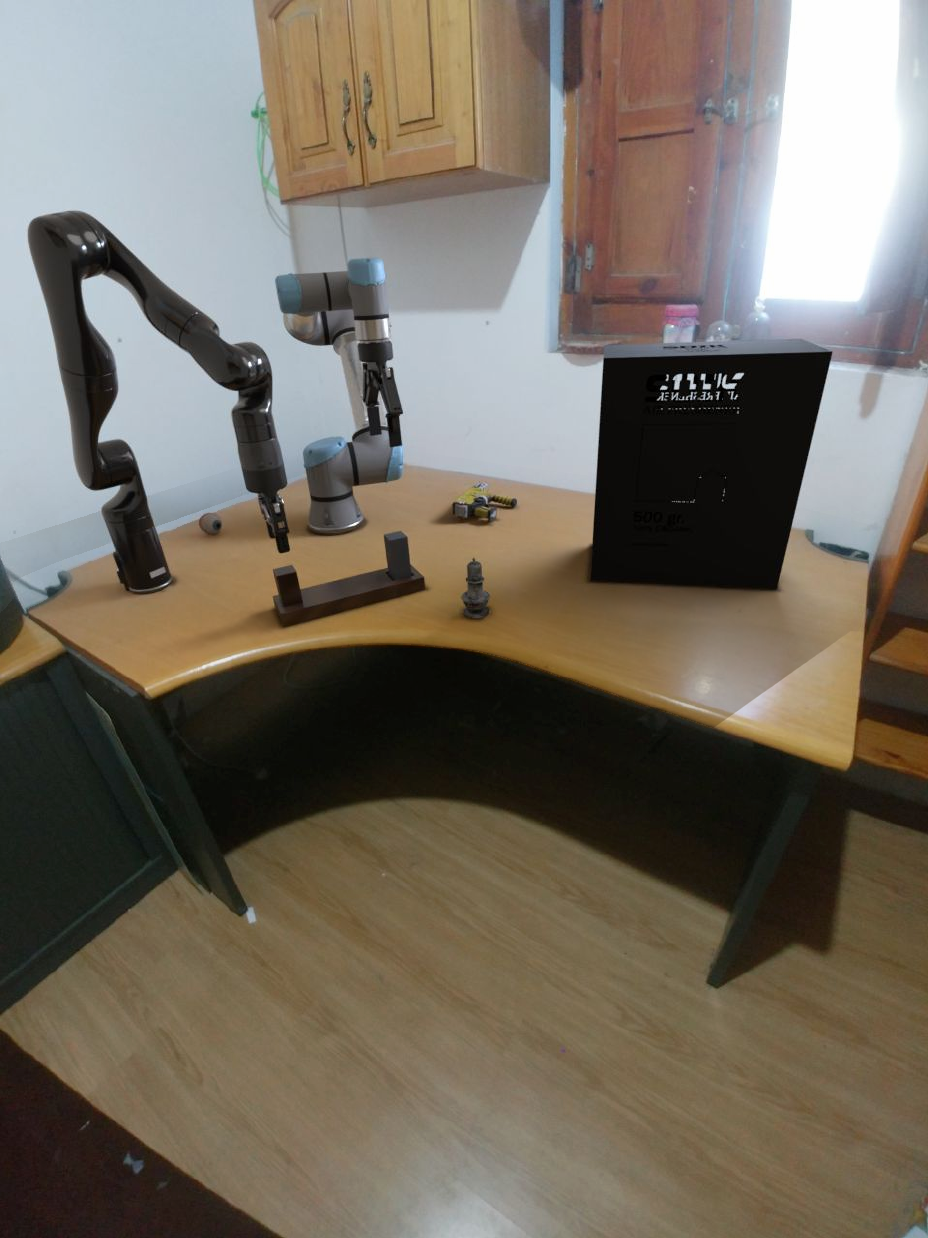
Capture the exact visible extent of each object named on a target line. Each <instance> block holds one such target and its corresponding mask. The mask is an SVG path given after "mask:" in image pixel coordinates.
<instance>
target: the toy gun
mask: <svg viewBox="0 0 928 1238" xmlns="http://www.w3.org/2000/svg"><path fill="white" fill-rule="evenodd" d="M489 485H490V484H489V482H487V481H484V482H483V481H482V480H480V481H478V483H476V484H475V485H474V486H473V485H472V486H471V487H470V488H469V489H468V490H466V491H465V492H464V493H463V494H462V495H460V497H458V498H457V499H456V500H454V502H453V503H452V504H451V515H452V516H453V517H456V518H457V519H460V520H463V519H471V518H476V517H481V518H484V519H487V522H488V523H490V522H492V521H494V520H496V519H497V515H498V514H497V513H498V506H495V505H494V506H492V507H491V506H490V505H489V504H490V503H492V502H493V503H495V504H496V503H498V504H501V505H505V506H509V507H512V508H515V507H516V506H517V505H518V499H517V498H516V497H509V496H504V495H499V494H497V493H496V494H494V495H491V493H490V492H489V490H487V489H488V488H489Z"/></svg>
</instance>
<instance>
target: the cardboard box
mask: <svg viewBox="0 0 928 1238" xmlns="http://www.w3.org/2000/svg"><path fill="white" fill-rule="evenodd" d="M833 353H834V352H833V350H830V349H827V348H826V347H825V348H824V347H822V346H821V345H818V344H815V343H813V342H810V341H808V340H805V339H802V338H783V339H782V338H781V339H779V338H777V339H776V338H775V339H749V340H747V339H746V340H723V341H722V340H720V341H719V340H718V341H689V342H687V341H685V342H683V341H682V342H657V343H654V342H653V343H627V344H625V343H624V344H623V343H621V344H604V345H603V359H602V362H603V363H602V375H601V389H600V390H601V392H600V409H599V424H598V425H599V426H598V427H599V428H598V442H597V457H596V458H597V459H596V460H597V461H596V475H595V493H594V496H595V497H594V508H593V509H594V510H593V525H592V527H593V528H592V541H591V557H590V558H591V560H590V575H589V576H590V577H589V580H590V582H603V583H622V584H623V583H625V584H626V583H628V584H645V585H647V584H648V585H669V586H670V585H671V586H693V587H712V588H714V587H715V588H734V589H735V588H737V589H755V590H757V589H758V590H759V589H760V590H778V586H779V582H780V577H781V574H782V570H783V565H784V561H785V556H786V553H787V548H788V543H789V539H790V536H791V531H792V526H793V522H794V519H795V513H796V510H797V505H798V501H799V497H800V493H801V489H802V484H803V480H804V476H805V471H806V467H807V464H808V463H807V462H808V458H809V455H810V450H811V446H812V442H813V437H814V434H815V430H816V425H817V421H818V417H819V411H820V407H821V404H822V400H823V399H822V398H823V394H824V390H825V386H826V381H827V378H828V374H829V369H830V366H831V360H832V356H833ZM738 374H742V376H741V377H740V378H735V376H736V375H738ZM678 375H681V379H680V380H679V384H678V388H675V385H676V379H675V377H676V376H678ZM689 375H693V380H692V381H691V379H688V376H689ZM702 375H704V379H702ZM719 378H720V382H719ZM724 378H725V382H724ZM723 382H724V385H730V384H731V385H734V388H725V387H724V386H723ZM691 383H692V385H695V388H691ZM705 385H710V388H704V386H705ZM662 387H666V389H662Z"/></svg>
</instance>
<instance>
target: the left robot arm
mask: <svg viewBox="0 0 928 1238" xmlns="http://www.w3.org/2000/svg"><path fill="white" fill-rule="evenodd" d="M27 244H28V249H29V253H30V257H31V260H32V264H33V267H34V270H35V273H36V278H37V279H38V284H39V286H40V291H41V293H42V296H43V300H44V303H45V307H46V310H47V315H48V318H49V319H48V320H49V323H50V327H51V332H52V336H53V342H54V347H55V353H56V361H57V366H58V371H59V376H60V380H61V384H62V388H63V393H64V398H65V401H66V407H67V412H68V417H69V425H70V426H69V427H70V436H71V447H72V458H73V462H74V466H75V470H76V473H77V476H78V478H79V480H80V481H81V482H80V483H82V484H83V486H85V488H86V489H88V490H90V491H93V492H97V491H103V490H104V491H105V490H109V489H112V488H115V487H119V489H118V491H117V492H116V494H115V495H114V496H113V497H111V498H110V499H109V500H107V501H106V502H105V503H104V504H103V505H102V506H101V508H100V509H101V510H100V512H101V515H102V518H103V520H104V523H105V526H106V528H107V531H108V533H109V537H110V540H111V542H112V545H113V548H114V551H113V552H112V556H113V559H114V561H115V564H116V567H117V571H116V575H117V578H118V580H119V582H120V585H123V586H124V589H125V591H126V592H131V593H133V594H136V595H145V594H151V593H156V592H159V591H162V590H163V589H166V588H167V587H169V586H171V585H172V584H173V581H174V579H173V576H172V575H173V574H171V570H170V568H169V564H168V561H167V558H166V555H165V552H164V549H163V546H162V544H161V540H160V537H159V534H158V531H157V528H156V524H155V523H154V519H153V516H152V513H151V510H150V507H149V501H148V497H147V494H146V489H145V485H144V483H143V479H142V474H141V470H140V467H139V464H138V460H137V457H136V455H135V453H134V451H133V449H132V447H131V446H130V444H129V443H127V442H126V441H125V440H124V439H121V438H115V439H110V440H104V441H103V440H102V441H100V442H99V437H100V432H101V429H102V427H103V425H104V423H105V421H106V419H107V417H108V415H109V414H110V412H111V410H112V409H113V406H114V405H115V402H116V400H117V397H118V395H119V389H120V388H119V386H120V385H119V378H118V377H119V376H118V375H119V374H118V368H117V361H116V357H115V354H114V351H113V349H112V348H111V345H109V343H108V342H107V340H106V339H105V338H104V336H103V335H102V334H101V333H100V331H99V329H97V327H96V326H95V325H94V324H93V323H92V321H91V320H90V318H89V316H88V313H87V310H86V306H85V305H86V304H85V300H84V295H83V286H82V285H83V281H84V280H88V279H92V278H95V277H99V276H101V275H102V276H104V277H106V278H108V279H111V280H112V281H114V282H115V283H117V284H119V285H120V286H122V287H123V288H124V289H126V291H128V293H130V295H131V296H132V297H133V298H134V300H135V302H136V303H137V305H138V307H139V309H140V311H141V312H142V314H143V316H144V317H145V319H146V321H147V322H149V324H150V325H151V327H152V328H153V329H155V331H157V332H158V333H159V334H160V335H161V336H163V337H164V338H166V339H167V340H168V341H170V342H171V343H172V344H173V345H175V346H177V347H178V348H179V349H181V350H182V351H184V352H185V353H187V354H189V356H190V357H191V358H192V359H193V360H194V362H195V363H196V364H197V365H198V366H199V367H200V368H201V369H202V371H204V373H205V374H206V375H207V376H208V377H209V378H210V379H211V380H212V381H213V382H214V383H216V384H217V385H219V387H222V388H224V389H227V390H228V391H233V392H237V401H236V403H235V404H234V405H233V406H232V408H231V410H230V417H231V422H232V427H233V431H234V436H235V440H236V444H237V445H236V446H237V447H236V448H237V455H238V459H239V463H240V464H239V465H240V468H241V472H242V477H243V482H244V485H245V489H246V490H247V492H249V493H252V494H257V502H258V505H259V510H260V513H261V515H262V518H263V519H264V521H265V525H266V530H267V534H268V538H270V540H271V539H273V540H275V545H276V550H277V552H278V553H279V554H285V553H289V552H290V551H291V547H290V541H289V538H288V534H290V528H289V525H288V520H287V515H286V510H285V504H284V501H283V498H282V497H280V496H281V495H280V494H279V493H278V492H279V491H280V490H284V489H286V487H287V486H288V477H287V473H286V467H285V462H284V457H283V452H282V447H281V445H280V441H279V438H278V434H277V430H276V424H275V418H274V415H273V400H274V399H273V398H274V397H273V392H274V391H273V382H274V381H273V369H272V366H271V362H270V360H269V356H268V355H267V353H266V352H265V350H264V349H263V348H262V347H261V346H260V345H258V344H257V343H255V342H252V341H241V342H237V343H233V344H231V343H228V342H227V341H225V340H224V339H223V338H222V337H221V332H220V327H219V325H218V324H217V322H215V321H214V319H212V318H211V317H210V316H209V315H207V314H206V313H205V312H203V311H202V310H200V309H199V308H197V307H196V306H195V305H194V304H193V303H192V302H190V301H188V300H187V299H186V298H184V297H182V295H180V294H179V293H178V292H176V291H175V290H174V289H172V288H171V287H170V286H169V285H167V284H166V283H165V282H164V281H162V279H160V277H158V276H157V275H156V273H154V272H153V271H152V270H151V269H150V268H149V267H148V266H147V265H146V264H145V263H144V262H142V260H141V259H139V257H138V256H136V254H134V252H132V251H131V250H130V249H129V248H128V247H127V246H126V245H125V244H124V243H123V242H122V241H121V240H120V239H119V238H118V237H117V236H116V235H115V234H114V233H113V232H112V231H111V230H109V228H108V227H106V226H105V225H104V224H103V223H102V222H100V220H98V219H97V218H96V217H95V216H93V215H91V214H90V213H88V212H85V211H82V210H75V209H74V210H66V211H65V210H64V211H59V212H53V213H47V214H43V215H39V216H38V215H37V216H36V217H34V218H32V219H31V220H30V221H29V224H28V227H27ZM280 524H281V526H282V527H280Z"/></svg>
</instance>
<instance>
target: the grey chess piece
mask: <svg viewBox="0 0 928 1238" xmlns="http://www.w3.org/2000/svg"><path fill="white" fill-rule="evenodd" d="M471 560H472V561H471ZM471 560H470V562H468V563H467V565H466V574H467V575H466V576H467V577H466V578H465V582H466V583H467V589H466V591H464V592H463V593H462V594H461V596H460V599H461V600H462V602H463V605H464V606H465V608H464V609H463V615H464V616H465V617H467V618H469V619H481V618H485V617H487V616H488V615H489V614H490V609H489V608H488V607H487V606H488V604H489V602H490V599H491V594H490V592H489V591H487V590H484V581H485V577H484V576H483V566H482V563H481V562H480V561H477V560H476V557H473V558H472V559H471Z"/></svg>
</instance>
